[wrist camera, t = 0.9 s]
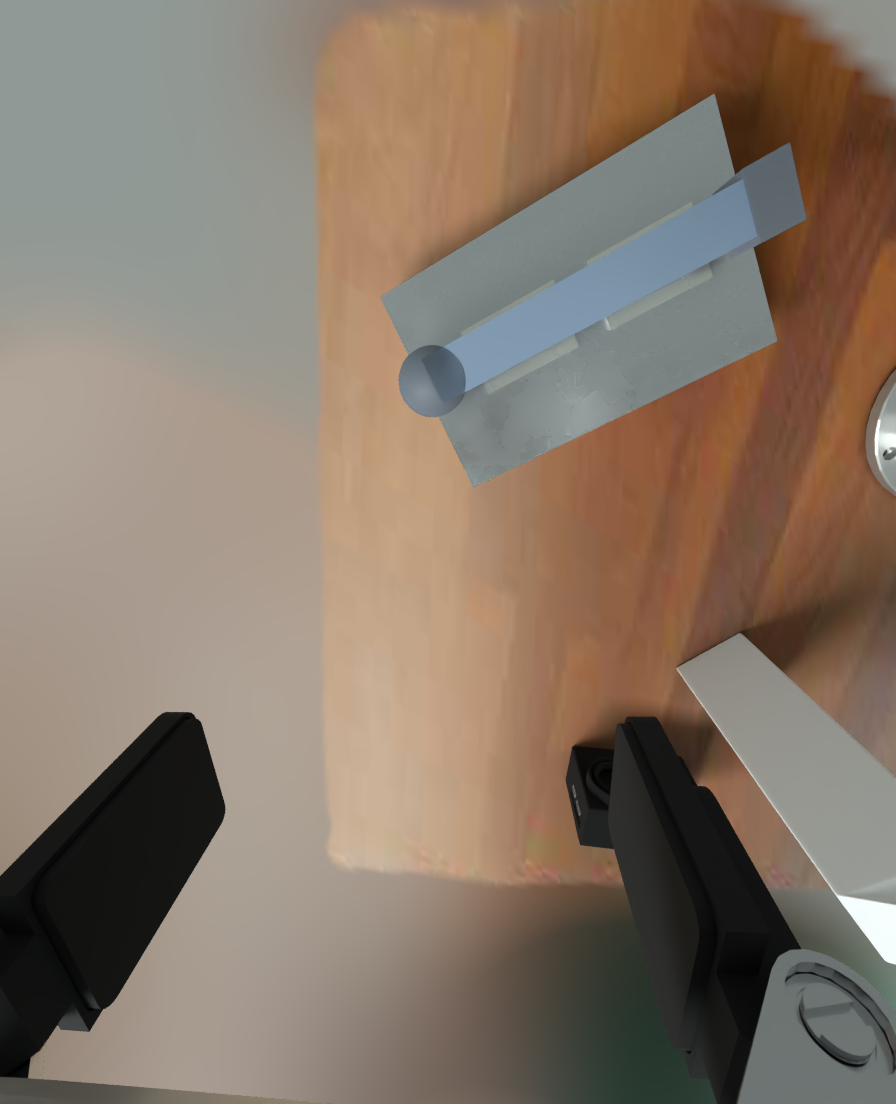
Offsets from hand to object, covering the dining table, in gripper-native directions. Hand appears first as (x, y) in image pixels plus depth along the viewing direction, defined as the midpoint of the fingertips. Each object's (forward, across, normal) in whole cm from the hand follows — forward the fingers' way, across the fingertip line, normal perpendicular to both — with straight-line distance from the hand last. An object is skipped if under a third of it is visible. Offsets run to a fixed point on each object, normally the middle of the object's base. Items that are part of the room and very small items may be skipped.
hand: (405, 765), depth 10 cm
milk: (+27, -22, +16) cm, 39 cm away
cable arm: (+21, -7, -12) cm, 25 cm away
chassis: (+27, -8, -12) cm, 30 cm away
